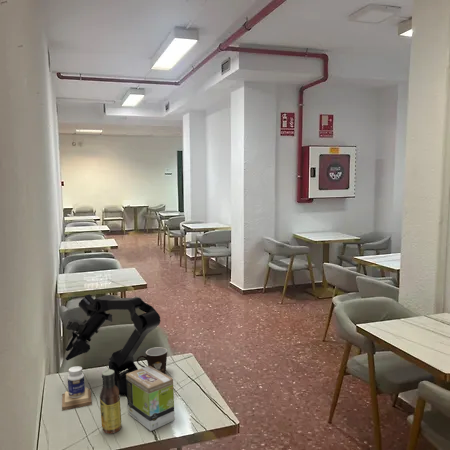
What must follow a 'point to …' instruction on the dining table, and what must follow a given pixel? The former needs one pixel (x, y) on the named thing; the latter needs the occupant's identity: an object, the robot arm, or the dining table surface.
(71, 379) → the pill bottle
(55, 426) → the dining table surface
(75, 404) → the stand
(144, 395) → the tea box
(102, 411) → the sauce bottle
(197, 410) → the dining table surface
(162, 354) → the coffee mug
